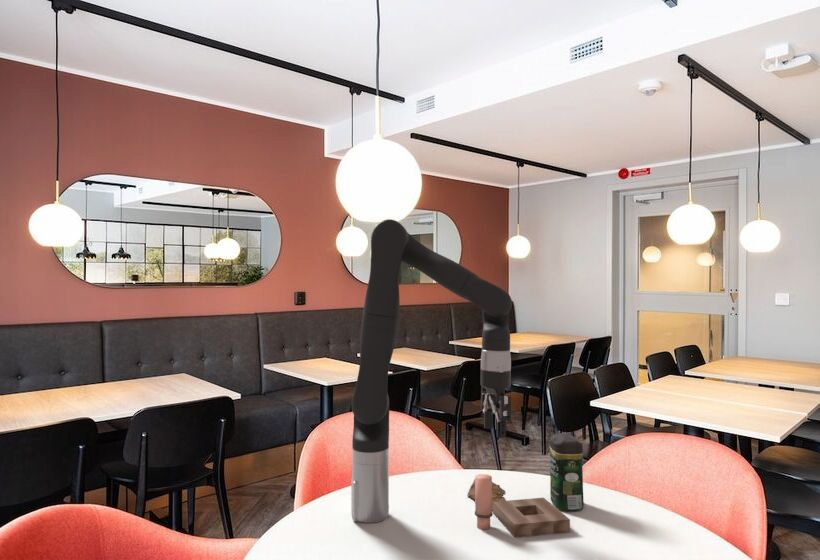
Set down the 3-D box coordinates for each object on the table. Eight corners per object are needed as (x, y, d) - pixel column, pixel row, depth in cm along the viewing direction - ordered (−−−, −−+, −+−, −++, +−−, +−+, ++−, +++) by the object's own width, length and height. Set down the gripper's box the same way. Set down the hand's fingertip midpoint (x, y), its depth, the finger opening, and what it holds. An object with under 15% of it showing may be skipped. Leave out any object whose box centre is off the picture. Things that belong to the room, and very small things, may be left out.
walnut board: (514, 537, 126) (514, 524, 126) (493, 513, 139) (493, 501, 139) (570, 532, 129) (569, 519, 129) (543, 509, 142) (543, 497, 142)
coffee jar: (547, 498, 149) (546, 430, 150) (575, 498, 149) (575, 430, 150) (556, 513, 140) (556, 440, 140) (587, 512, 140) (586, 440, 140)
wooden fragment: (513, 512, 141) (513, 508, 141) (470, 512, 141) (470, 508, 141) (498, 479, 166) (498, 475, 166) (462, 479, 167) (462, 475, 167)
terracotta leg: (478, 531, 129) (477, 480, 129) (472, 523, 133) (472, 474, 133) (495, 529, 130) (495, 479, 130) (489, 522, 134) (488, 473, 134)
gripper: (472, 364, 143) (471, 426, 142) (492, 372, 129) (491, 441, 128) (498, 364, 144) (497, 425, 144) (521, 371, 130) (520, 439, 130)
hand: (494, 432), depth 136 cm, fingers open, 8 cm apart
